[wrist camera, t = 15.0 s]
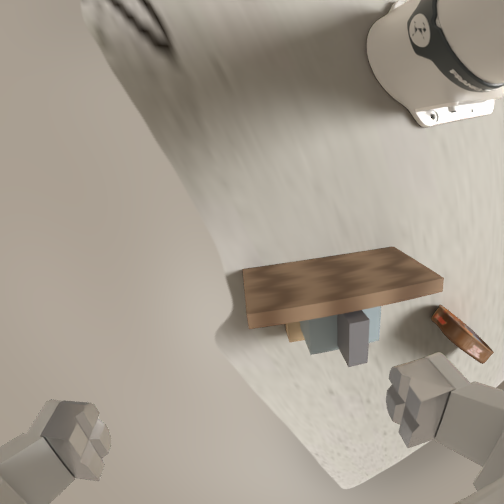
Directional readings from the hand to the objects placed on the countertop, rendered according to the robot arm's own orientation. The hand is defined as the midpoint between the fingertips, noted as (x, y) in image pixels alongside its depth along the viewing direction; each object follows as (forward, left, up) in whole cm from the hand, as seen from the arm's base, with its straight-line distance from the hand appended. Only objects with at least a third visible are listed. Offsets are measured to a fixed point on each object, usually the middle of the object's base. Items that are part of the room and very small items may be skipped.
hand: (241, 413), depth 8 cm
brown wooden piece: (-10, +12, -31) cm, 35 cm away
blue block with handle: (-10, +12, -28) cm, 32 cm away
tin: (-32, +22, -31) cm, 50 cm away
